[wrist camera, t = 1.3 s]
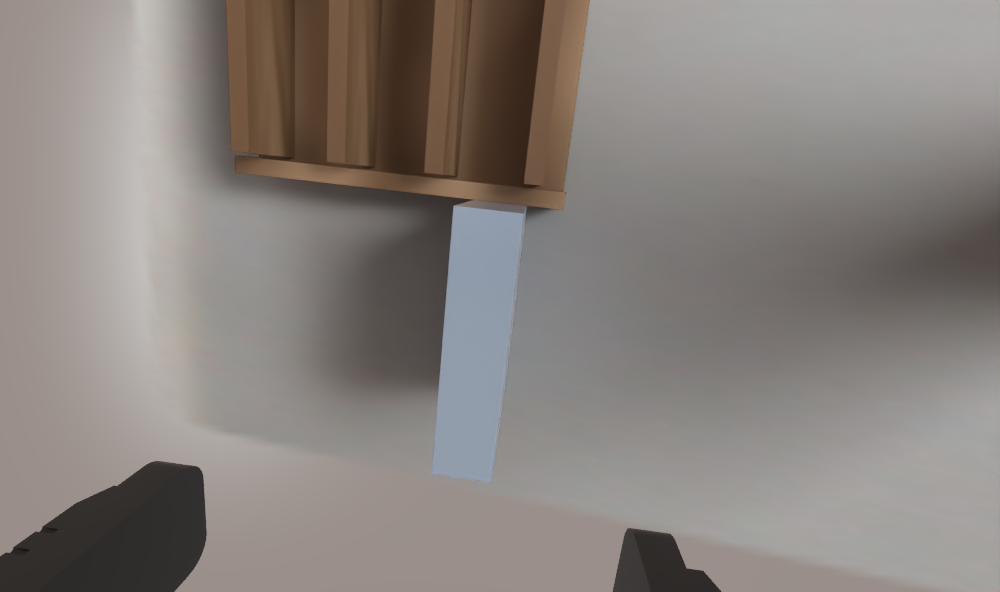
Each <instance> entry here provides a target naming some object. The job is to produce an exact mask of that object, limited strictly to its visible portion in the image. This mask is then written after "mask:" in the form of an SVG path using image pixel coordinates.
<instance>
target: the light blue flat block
mask: <svg viewBox="0 0 1000 592" xmlns="http://www.w3.org/2000/svg"><path fill="white" fill-rule="evenodd" d="M526 211H527V206H525V205H516V204H507V203H499V202H490V201H481V200H472V201H468V202H465V203H461V204H458V205H454V206H453V219H452V231H451V243H450V255H449V268H448V280H447V292H446V304H445V317H444V329H443V341H442V354H441V366H440V378H439V390H438V403H437V415H436V427H435V440H434V452H433V464H432V475H439V476H447V477H454V478H461V479H468V480H475V481H482V482H489V483H492V476H493V469H494V462H495V455H496V448H497V441H498V434H499V427H500V421H501V414H502V407H503V400H504V393H505V386H506V377H507V369H508V361H509V352H510V344H511V336H512V327H513V319H514V311H515V302H516V294H517V286H518V278H519V269H520V261H521V253H522V244H523V236H524V228H525V219H526Z"/></svg>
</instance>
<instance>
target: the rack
mask: <svg viewBox="0 0 1000 592" xmlns="http://www.w3.org/2000/svg"><path fill="white" fill-rule="evenodd" d="M589 2H590V0H226V16H227V45H228V73H229V101H230V130H231V151H236V152H244V153H254V154H259V158H257V157H246V156H235V173H244V174H252V175H261V176H270V177H279V178H288V179H296V180H305V181H314V182H323V183H332V184H340V185H349V186H358V187H367V188H375V189H384V190H393V191H402V192H411V193H419V194H428V195H437V196H446V197H455V198H463V199H472V200H481V201H490V202H499V203H507V204H516V205H525V206H534V207H543V208H551V209H560V210H563V209H564V202H565V194H566V192H563V190H564V182H565V175H566V168H567V161H568V154H569V146H570V139H571V132H572V125H573V117H574V110H575V103H576V96H577V89H578V81H579V74H580V67H581V60H582V52H583V45H584V38H585V31H586V24H587V16H588V9H589Z"/></svg>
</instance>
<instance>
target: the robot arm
mask: <svg viewBox="0 0 1000 592" xmlns="http://www.w3.org/2000/svg"><path fill="white" fill-rule="evenodd" d="M205 542H206V516H205V499H204V483H203V474H202V471H201V470H200V468H198V467H196V466H190V465H183V464H176V463H168V462H161V461H155V462H151V463H149V464H147V465H146V466H144V467H143V468H141V469H140V470H139V471H137V472H136V473H134V474H133V475H132V476H130V477H129V478H128V479H126V480H125V481H124V482H122V483H121V484H119V485H118V486H113V487H110V488H108V489H106V490H104V491H102V492H99V493H97V494H95V495H93V496H91V497H89V498H87V499H84V500H82V501H80V502H78V503H76V504H74V505H73V506H71V507H70V508H69V509H67V510H66V511H65V512H63V513H62V514H60V515H59V516H58V517H56V518H54V519H53V520H52V521H50V522H49V523H47V524H46V525H44V526H43V528H42V530H41V531H40V532H35V533H33V534H32V535H30V536H29V537H27V538H26V539H25V540H23V541H22V542H20V543H19V544H18V545H16V546H15V547H14V548H13V551H12V552H11V553H5V554H3V555H2V556H0V592H174V591H175V590H176V589H177V588H178V587H179V586H180V584H181V583H182V582H183V581H184V580H185V579H186V577H188V575H189V574H190V573H191V572H192V570H193V569H194V567H195V566H196V564H197V563H198V561H199V559H200V557H201V554H202V552H203V549H204V546H205ZM613 592H721V591H720V590H719V589H718V587H717V586H716V585H715V584H714V583H713V582H712V581H711V579H710V578H709V577H708V576H707V575H706V574H705V573H704V571H700V570H693V569H686V566H685V564H684V561H683V559H682V556H681V554H680V551H679V549H678V546H677V544H676V541H675V539H674V538H673V536H672V535H671V534H668V533H661V532H653V531H646V530H639V529H631V528H629V529H627V531H626V533H625V536H624V540H623V545H622V550H621V554H620V559H619V564H618V569H617V573H616V578H615V584H614V588H613Z"/></svg>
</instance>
